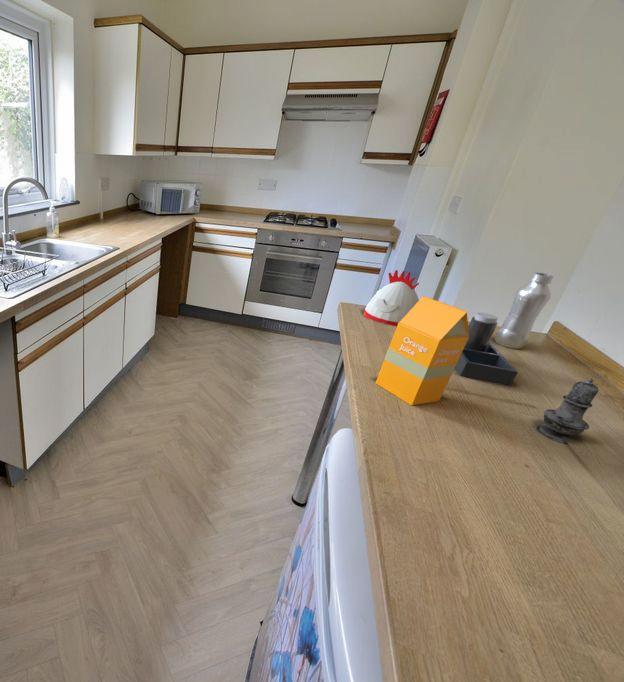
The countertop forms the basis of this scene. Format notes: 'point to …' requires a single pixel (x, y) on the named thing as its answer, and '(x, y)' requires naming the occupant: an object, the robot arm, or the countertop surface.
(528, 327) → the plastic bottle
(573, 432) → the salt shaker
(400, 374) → the orange juice
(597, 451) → the countertop surface
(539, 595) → the countertop surface
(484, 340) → the pepper shaker
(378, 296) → the kitchen timer
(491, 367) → the dark grey tray
